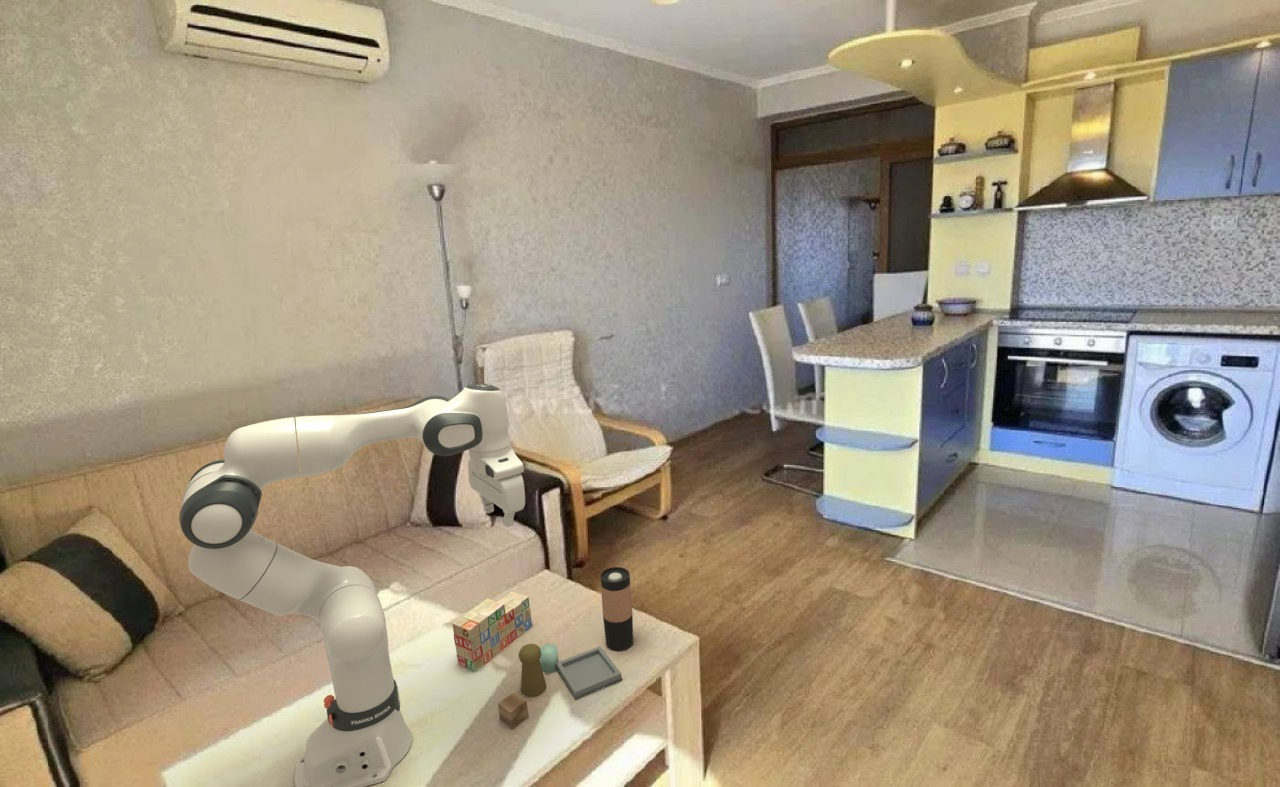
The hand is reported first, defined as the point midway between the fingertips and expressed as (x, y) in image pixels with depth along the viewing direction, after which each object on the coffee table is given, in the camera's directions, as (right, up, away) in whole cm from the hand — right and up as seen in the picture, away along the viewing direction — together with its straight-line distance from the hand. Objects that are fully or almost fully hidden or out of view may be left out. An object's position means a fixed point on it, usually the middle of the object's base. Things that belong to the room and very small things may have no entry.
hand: (498, 518), depth 135 cm
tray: (+18, -42, +16) cm, 48 cm away
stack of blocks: (-7, -40, +30) cm, 50 cm away
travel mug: (+25, -38, +28) cm, 54 cm away
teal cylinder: (+8, -41, +20) cm, 46 cm away
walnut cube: (+3, -46, +4) cm, 46 cm away
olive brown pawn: (+5, -43, +13) cm, 45 cm away
